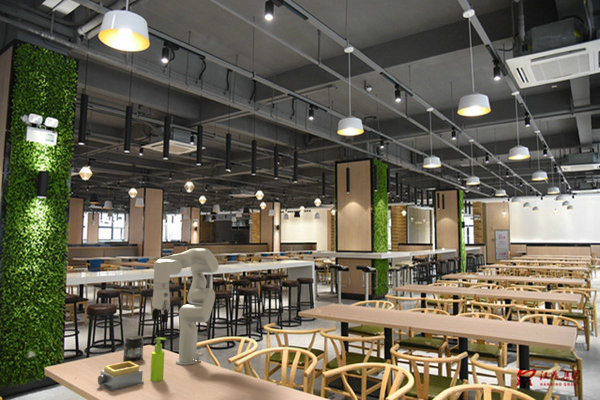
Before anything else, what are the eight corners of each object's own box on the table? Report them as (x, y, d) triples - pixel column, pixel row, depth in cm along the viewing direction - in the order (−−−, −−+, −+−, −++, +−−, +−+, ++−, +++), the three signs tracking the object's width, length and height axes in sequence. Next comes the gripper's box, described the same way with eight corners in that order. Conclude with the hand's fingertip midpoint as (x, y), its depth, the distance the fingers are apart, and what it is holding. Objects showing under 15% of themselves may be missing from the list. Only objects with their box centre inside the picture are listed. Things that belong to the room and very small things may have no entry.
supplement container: (129, 355, 242) (130, 334, 243) (146, 356, 241) (147, 335, 242) (119, 361, 232) (120, 339, 233) (137, 361, 231) (138, 339, 232)
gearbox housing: (129, 376, 206) (130, 359, 207) (143, 383, 196) (144, 366, 197) (94, 384, 194) (95, 366, 195) (107, 392, 184) (108, 374, 185)
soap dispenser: (161, 382, 198) (163, 339, 200) (148, 381, 199) (150, 338, 201) (167, 378, 204) (169, 336, 206) (154, 377, 205) (156, 336, 207)
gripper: (176, 286, 203) (175, 322, 201) (160, 283, 215) (158, 317, 213) (162, 288, 197) (160, 324, 196) (146, 284, 209) (144, 319, 208)
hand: (159, 320), depth 204 cm, fingers open, 9 cm apart
